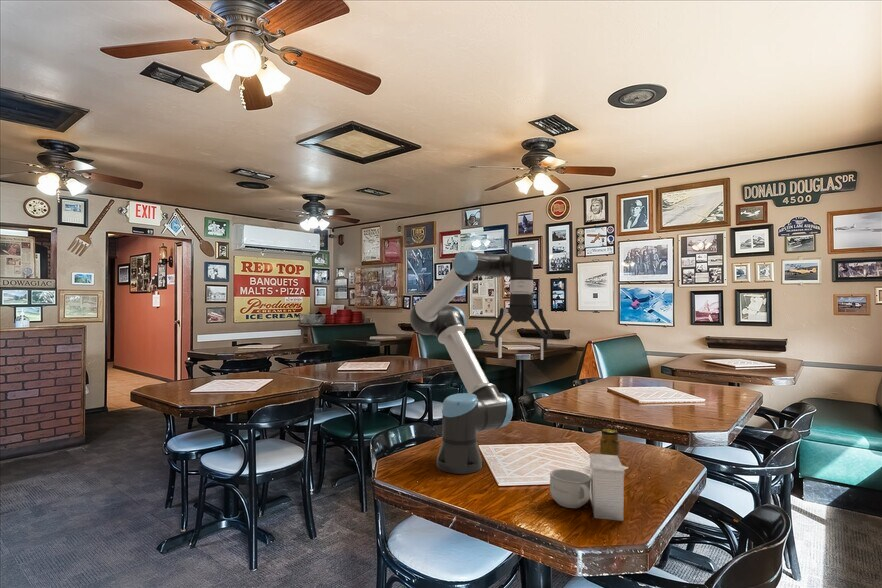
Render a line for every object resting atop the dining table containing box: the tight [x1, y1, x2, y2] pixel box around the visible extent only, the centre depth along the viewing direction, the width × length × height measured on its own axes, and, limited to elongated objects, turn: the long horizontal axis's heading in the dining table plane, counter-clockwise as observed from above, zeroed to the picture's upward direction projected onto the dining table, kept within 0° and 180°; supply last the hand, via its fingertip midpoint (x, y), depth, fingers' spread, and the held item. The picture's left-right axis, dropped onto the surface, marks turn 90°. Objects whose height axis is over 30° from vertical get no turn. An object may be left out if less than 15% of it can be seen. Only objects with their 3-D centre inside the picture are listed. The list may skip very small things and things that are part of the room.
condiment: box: [599, 428, 630, 471], centre depth 156 cm, size 7×8×12 cm
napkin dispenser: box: [589, 452, 626, 522], centre depth 123 cm, size 8×12×13 cm, turn 167°
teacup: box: [549, 468, 591, 509], centre depth 125 cm, size 14×11×8 cm
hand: (520, 358), depth 151 cm, fingers open, 13 cm apart
